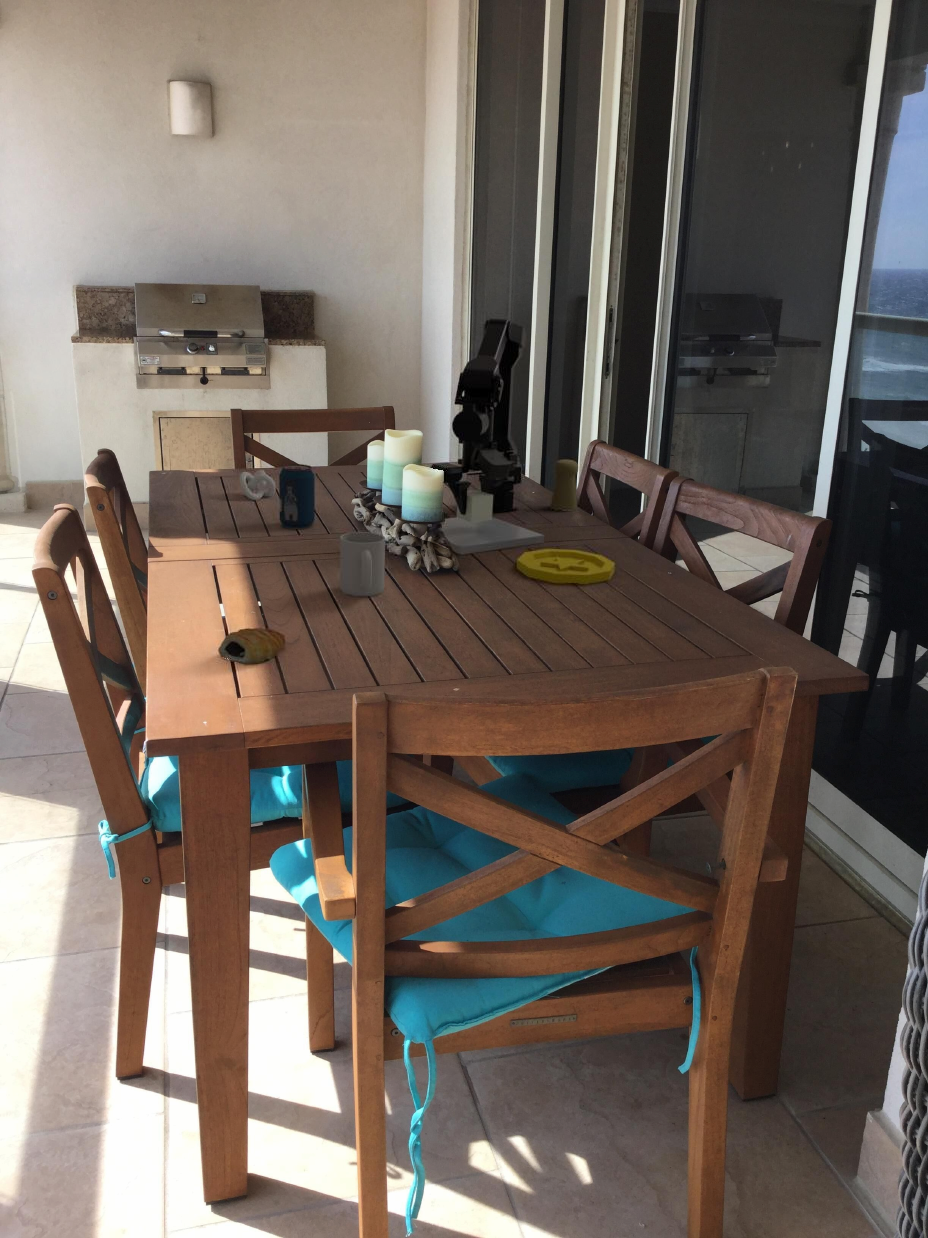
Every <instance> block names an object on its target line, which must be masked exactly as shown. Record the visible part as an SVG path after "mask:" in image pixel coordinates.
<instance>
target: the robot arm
mask: <svg viewBox="0 0 928 1238" xmlns="http://www.w3.org/2000/svg"><path fill="white" fill-rule="evenodd" d="M482 327H483V328H482V337H481V343H480V345H479V348H478V351H477V353H476V357H474V358H473V359H471V360H469V361H466V364H465V366H464V368H463V370H462V372H460V374H459V377H458V383H457V386H456V393H455V397H454V398H455V399H454V405H457V406H462V409H461V410H460V412H458V413H457V414H456V415H455V416H454V418H453V420H452V422H451V423H452V424H451V428H452V432H453V435H454V436H455V437H456V438H457V439H458V444H461V445H462V450H461V451H462V453H461V458H457V465H456V464H453V463H449V462H440V463H439V462H438V463H432V465H431V466H430V467H429V469H430V468H433V469H438V470H443V471H444V483H443V484H447V486H448V487H449V489H450V491H451V493H452V495H453V498H454V500H455V503H456V507H457V506H458V508H459V511H460V513H461V514H462V515H465V514H466V508H467V491H468V489H469V488H470V487H471V484H472V482H470V481H468V476H476V475H478V479H479V480H478V481H479V483H480V491H482V492H485V493H488V494H491V495H493V508H492V513H501V512H503V513H504V512H511V511H518V506H514V500H515V499H514V498H515V497H514V495H515V490H514V489H515V488H514V487H515V485H518V484H519V485H520V484H522V481H523V479H522V478H523V475H522V474H523V472H522V469H523V468H522V463H521V461H520V456H518V446H517V445H516V443H515V441H514V440H513V437H512V435H511V434H512V433H511V431H512V427H511V426H512V411H513V395H514V391H513V390H514V377H515V375H514V374H515V373H514V371H515V366H516V365H517V363H518V362H519V360H520V359H521V357H522V356H523V351H524V349H525V347H526V345H527V344H526V343H527V332H526V329H525V328H524V326H522V325H521V324H517V323H514V322H513V321H512V320H509V319H508V318H489V319H486V320H485V323H484V324H483V326H482ZM459 465H460V466H459Z"/></svg>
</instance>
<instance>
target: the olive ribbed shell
mask: <svg viewBox="0 0 928 1238" xmlns="http://www.w3.org/2000/svg"><path fill="white" fill-rule="evenodd" d="M285 646H286V637H285V635H284V634H283V633H280V632H279V631H276V630H275V629H274V628H273V629H272V628H265V629H264V628H262V627H259V628H258V627H256V628H255V627H254V628H247V627H246V628H242V629H239V630H237V631H234V632H230V633H228V634H227V636H225V637H224V640H223V641H222V642H221V644H220V646H219V647H218V653H219V655H220V656H221V658H222V657H224V658H226V659H227V658H228V659H229V660H230V661H229V662H236V663H240V664H243V665H258V664H260V663H263V662H264V661H266V660H272V659H273V658H274V657H277V656H278V655H279V654H280V653H281V652H282V651H284V649H285ZM280 651H281V652H280ZM279 652H280V653H279ZM278 653H279V654H278ZM272 657H273V658H272ZM224 658H223V659H224ZM257 663H258V664H257Z"/></svg>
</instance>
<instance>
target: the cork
mask: <svg viewBox="0 0 928 1238" xmlns="http://www.w3.org/2000/svg"><path fill="white" fill-rule="evenodd" d="M578 471H579V464H578V463H577V461H575V460H572V459H567V458H566V459H559V460H557V461H556V462H555V464H554V472H555V473H556V477H555V481H554V482H555V483H554V488H553V492H552V497H551V501H550V502H551V503H550V505H549V508H550V507H551V508H552V509H555V510H554V511H556V510H567V511H568V510H576V511H577V510H578V508H577V507H578V505H577V503H578V502H577V484H576V475H577V473H578ZM551 508H550V509H551ZM552 509H551V510H552Z"/></svg>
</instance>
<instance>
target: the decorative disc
mask: <svg viewBox="0 0 928 1238" xmlns="http://www.w3.org/2000/svg"><path fill="white" fill-rule="evenodd" d="M615 567H616V563H615V562H614V561H612V560H610V559H609V558H607V557H605V556H603V555H601V554H597V553H593V552H588V551H583V550H579V549H578V550H577V549H564V548H563V549H560V548H558V549H557V548H556V549H555V548H544V549H538V550H532V551H525V552H523V554H522V555H520V556H519V557H518V558H517V560H516V570H518V571H519V572H521V573H522V574H523V575H525V576H526V577H527V578H532V579H535V580H540V581H545V582H549V583H553V584H565V583H579V584H578V585H590V584H589V583H591V584H596V583H600V582H605V581H610V580H611V578H612V576H613V575H614V573H615ZM595 582H596V583H595Z"/></svg>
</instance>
